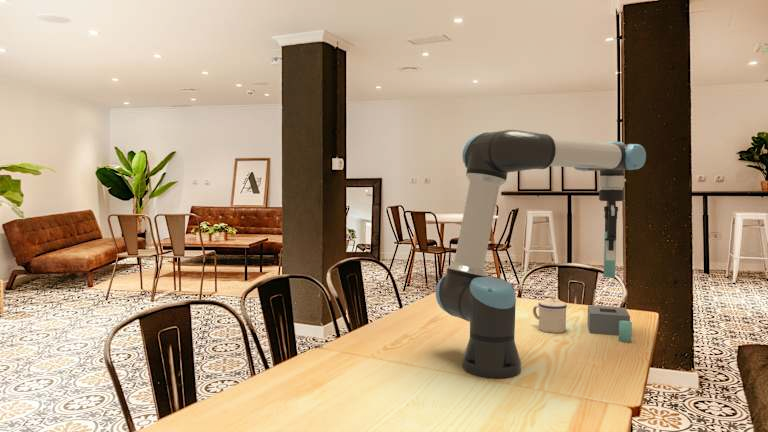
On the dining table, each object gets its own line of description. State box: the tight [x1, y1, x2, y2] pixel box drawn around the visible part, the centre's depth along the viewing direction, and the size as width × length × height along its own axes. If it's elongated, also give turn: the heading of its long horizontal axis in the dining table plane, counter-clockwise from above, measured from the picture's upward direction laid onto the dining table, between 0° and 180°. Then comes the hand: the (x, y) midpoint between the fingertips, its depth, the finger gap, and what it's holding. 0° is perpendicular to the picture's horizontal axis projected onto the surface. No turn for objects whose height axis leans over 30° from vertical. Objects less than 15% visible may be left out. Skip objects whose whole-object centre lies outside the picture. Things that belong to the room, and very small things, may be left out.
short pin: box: [618, 320, 633, 344], centre depth 165 cm, size 4×4×6 cm
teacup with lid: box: [532, 294, 568, 334], centre depth 179 cm, size 12×9×12 cm
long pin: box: [603, 231, 617, 279], centre depth 176 cm, size 4×4×15 cm
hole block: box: [586, 305, 631, 336], centre depth 178 cm, size 12×12×6 cm
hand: (609, 259), depth 176 cm, fingers closed on long pin, 3 cm apart
